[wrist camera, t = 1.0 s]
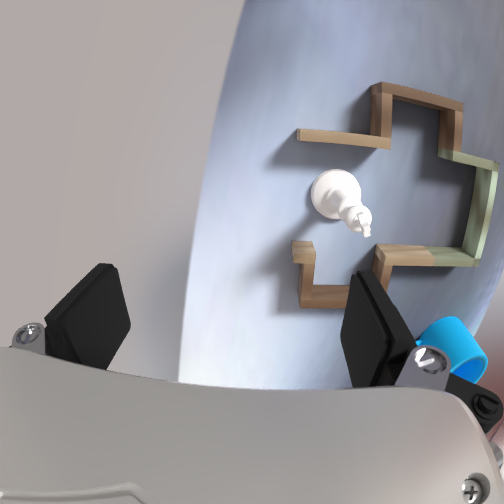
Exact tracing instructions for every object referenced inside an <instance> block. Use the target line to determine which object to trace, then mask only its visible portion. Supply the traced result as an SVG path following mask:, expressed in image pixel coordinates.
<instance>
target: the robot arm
mask: <svg viewBox="0 0 504 504" xmlns="http://www.w3.org/2000/svg"><path fill="white" fill-rule="evenodd" d="M44 319H45V321H46V324H47V326H46V328H44V326H43V325H42V324H40V323H29V324H26V325H24V326H22V327H21V328H19V329H18V330H17V331H16V332H15V334H14V336H13V339H12V346H10V347H0V504H504V414H503V405H502V402H501V400H500V398H499V397H498V396H497V395H496V394H494V393H493V392H491V391H489V390H487V389H485V388H482V387H480V386H478V385H476V384H474V383H472V382H470V381H467V380H465V379H463V378H461V377H459V376H457V375H455V374H453V373H451V372H450V370H451V361H450V358H449V357H448V356H447V354H446V353H445V352H443V351H442V350H441V349H439V348H437V347H434V346H430V345H422V346H418V345H417V344H416V342H415V340H414V338H413V336H412V334H411V333H410V331H409V329H408V327H407V325H406V324H405V322H404V320H403V318H402V317H401V315H400V313H399V312H398V310H397V308H396V307H395V305H393V303H392V302H391V300H390V298H389V297H388V295H387V293H386V292H385V290H384V288H383V287H382V285H381V283H380V282H379V280H378V278H377V277H376V275H375V274H374V272H373V271H357V273H356V274H353V275H352V277H351V282H350V287H349V293H348V298H347V304H346V309H345V314H344V319H343V323H342V328H341V334H340V338H341V343H342V347H343V351H344V354H345V358H346V362H347V366H348V370H349V374H350V378H351V382H352V386H353V388H336V389H299V390H287V389H251V388H234V387H220V386H208V385H198V384H189V383H181V382H172V381H166V380H158V379H152V378H146V377H140V376H133V375H128V374H123V373H118V372H113V371H108V370H106V369H107V368H108V366H109V364H110V362H111V361H112V359H113V357H114V356H115V354H116V352H117V350H118V349H119V347H120V345H121V344H122V342H123V340H124V339H125V337H126V335H127V334H128V332H129V330H130V326H131V323H130V318H129V315H128V311H127V307H126V303H125V299H124V295H123V291H122V287H121V283H120V278H119V274H118V270H117V268H115V267H114V266H113V265H112V264H105V263H99V264H98V265H97V266H95V268H93V269H92V270H91V271H90V272H89V273H88V274H87V275H86V276H85V277H84V278H83V279H82V280H81V281H80V282H79V283H78V284H77V285H76V286H75V287H74V288H73V289H72V290H71V291H70V292H69V293H68V294H67V295H66V296H65V297H64V298H63V299H62V300H61V301H60V302H59V303H58V304H57V305H56V306H55V307H54V308H53V309H52V310H51V311H50V312H49V313H48V314H47V315H46V317H45V318H44Z"/></svg>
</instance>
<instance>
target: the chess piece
mask: <svg viewBox="0 0 504 504" xmlns="http://www.w3.org/2000/svg"><path fill="white" fill-rule="evenodd" d="M360 199H361V190H360V186H359V184H358V182H357V180H356V179H355V177H354V176H353V175H352V174H350V173H349V172H347V171H345V170H342V169H330V170H327V171H325V172H323V173H321V174H320V175H319V176H318V177H317V178H316V179H315V181H314V183H313V185H312V188H311V200H312V203H313V205H314V207H315V209H316V210H317V211H318V212H319V213H320V214H322V215H323V216H325V217H327V218H330V219H341V220H343V221H344V222H345V223H346V226H347V227H348V228H349V229H350V230H351V231H353V232H362V233H363V236H364V237H365V238H366V237H368V236H370V235H371V234H370V231H371V229H370V224H371V220H372V216H371V213H370V211H369V210H368V209H367V208H366V207H365V206H363V205H362V203H361V201H360Z"/></svg>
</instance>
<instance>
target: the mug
mask: <svg viewBox="0 0 504 504" xmlns="http://www.w3.org/2000/svg"><path fill="white" fill-rule="evenodd" d="M415 342H416V344H417V345H418V346H422V345H430V346H434V347H437V348H439V349H441V350H442V351H443V352H445V353H446V354H447V356H448V357H449V358H450V361H451V370H450V372H451V373H453V374H455V375H457V376H459V377H461V378H463V379H465V380H467V381H470V382H472V383H474V384H475V383H476V382H477V381H478V380H479V379H480V378H481V376H482V375H483V373H484V372H485V370H486V367H487V363H488V360H487V357H486V355H485V354H484V352H483V351H482V350H481V348H480V347H479V345H478V344H477V342H476V341H475V339H474V338H473V337H472V335H471V334H470V332H469V331H468V330H467V328H466V327H465V326H464V324H463V323H462V322H461V320H459V319H458V318H457V317H453V316H450V317H444V318H442V319H440V320H438V321H436V322H435V323H433V324H432V325H430V326H429V327H428V328H427V329H426V330H425V331H424V332H423V334H422V335H421V337H420V338H419V340H418V341H415Z"/></svg>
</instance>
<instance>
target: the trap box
mask: <svg viewBox="0 0 504 504" xmlns="http://www.w3.org/2000/svg"><path fill="white" fill-rule="evenodd" d="M392 99H393V100H398V101H403V102H408V103H412V104H417V105H421V106H425V107H429V108H433V109H436V110H440V120H439V140H438V153H437V157H441V158H444V159H448V160H451V161H455V162H460V163H464V164H468V165H473V166H477V167H476V175H475V183H474V190H473V196H472V202H471V208H470V213H469V218H468V223H467V227H466V232H465V236H464V240H463V244H462V248H456V247H436V246H414V245H391V244H376V249H375V254H374V260H373V265H372V270H371V271H373V272H374V274H375V275H376V277H377V278H378V280H379V282H380V283H381V285H382V287H383V288H384V290H385V292H387V288H388V284H389V280H390V276H391V272H392V267H393V265H397V266H470V267H478V265H479V261H480V258H481V255H482V251H483V247H484V243H485V240H486V235H487V231H488V227H489V223H490V218H491V213H492V208H493V202H494V197H495V191H496V184H497V177H498V169H499V163H497V162H494V161H490V160H487V159H483V158H480V157H476V156H472V155H469V154H465V153H461V143H462V126H463V103H461V102H458V101H455V100H452V99H449V98H446V97H442V96H439V95H436V94H432V93H428V92H425V91H421V90H417V89H413V88H409V87H405V86H400V85H396V84H391V83H386V82H380V83H377V84H374V85H371V111H370V135H363V134H354V133H345V132H335V131H323V130H309V129H297V140H299V141H312V142H326V143H338V144H348V145H358V146H367V147H375V148H382V149H389V150H390V147H391V129H392ZM292 256H293V262H294V263H300V273H299V284H298V298H299V305H300V308H346V304H347V298H348V293H349V287H350V285H313V277H314V268H315V259H316V252H315V249H314V246H313V243H312V242H311V241H292Z"/></svg>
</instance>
